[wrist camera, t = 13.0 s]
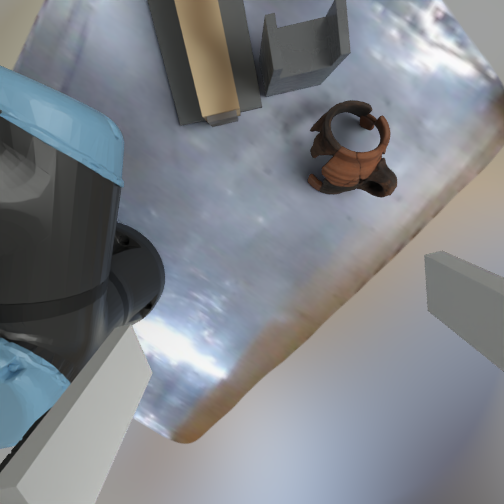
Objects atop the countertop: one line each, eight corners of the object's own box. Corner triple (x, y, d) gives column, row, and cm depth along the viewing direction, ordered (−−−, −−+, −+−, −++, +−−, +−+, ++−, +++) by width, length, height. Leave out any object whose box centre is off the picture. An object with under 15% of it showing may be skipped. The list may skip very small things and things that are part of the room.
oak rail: (209, 128, 34) (203, 122, 30) (163, -63, 28) (149, -103, 24) (241, 120, 34) (240, 114, 29) (202, -73, 28) (194, -115, 24)
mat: (181, 125, 34) (180, 125, 34) (138, -37, 30) (136, -41, 29) (261, 107, 34) (262, 106, 33) (231, -60, 29) (231, -65, 29)
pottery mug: (284, 174, 37) (299, 135, 29) (321, 126, 39) (345, 76, 31) (360, 227, 36) (398, 201, 28) (395, 174, 38) (439, 136, 30)
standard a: (265, 97, 34) (273, 70, 24) (259, 59, 32) (265, 15, 23) (320, 84, 33) (350, 52, 24) (315, 45, 32) (345, -5, 23)
